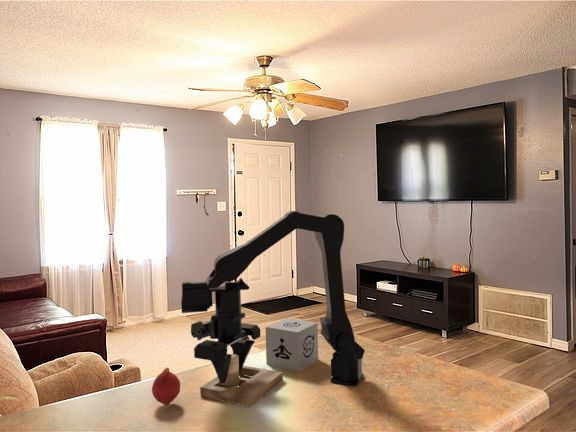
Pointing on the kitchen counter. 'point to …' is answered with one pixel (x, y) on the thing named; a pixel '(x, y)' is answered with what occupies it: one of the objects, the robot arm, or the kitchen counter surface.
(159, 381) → the onion
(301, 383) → the kitchen counter surface
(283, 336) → the icon cube
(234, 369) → the peg
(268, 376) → the board
